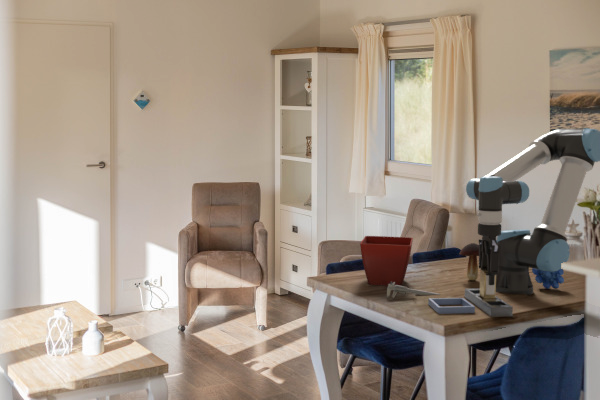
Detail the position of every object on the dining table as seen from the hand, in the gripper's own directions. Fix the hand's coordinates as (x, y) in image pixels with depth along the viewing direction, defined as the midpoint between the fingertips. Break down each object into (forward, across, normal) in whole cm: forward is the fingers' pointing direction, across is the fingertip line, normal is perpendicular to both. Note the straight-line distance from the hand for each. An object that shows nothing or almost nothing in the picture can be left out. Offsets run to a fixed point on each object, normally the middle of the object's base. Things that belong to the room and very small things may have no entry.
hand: (487, 292), depth 235 cm
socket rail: (+6, 0, 0) cm, 6 cm away
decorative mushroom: (+6, -44, +10) cm, 45 cm away
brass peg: (+5, 0, 0) cm, 5 cm away
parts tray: (+6, +2, -13) cm, 14 cm away
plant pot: (+6, -43, -25) cm, 50 cm away
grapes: (+6, -27, +33) cm, 43 cm away
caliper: (+6, -18, -20) cm, 28 cm away
